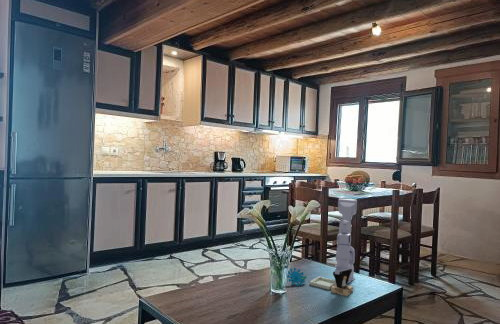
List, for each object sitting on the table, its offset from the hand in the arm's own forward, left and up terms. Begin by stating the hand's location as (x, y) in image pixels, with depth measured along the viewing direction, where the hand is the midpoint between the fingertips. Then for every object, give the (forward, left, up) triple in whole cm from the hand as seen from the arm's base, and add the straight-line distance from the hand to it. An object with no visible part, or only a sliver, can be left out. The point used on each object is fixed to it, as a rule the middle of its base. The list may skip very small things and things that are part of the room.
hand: (342, 285), depth 173 cm
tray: (-3, -11, -3) cm, 12 cm away
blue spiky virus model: (+6, -22, -3) cm, 23 cm away
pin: (0, 0, -3) cm, 3 cm away
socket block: (0, 0, -3) cm, 3 cm away
